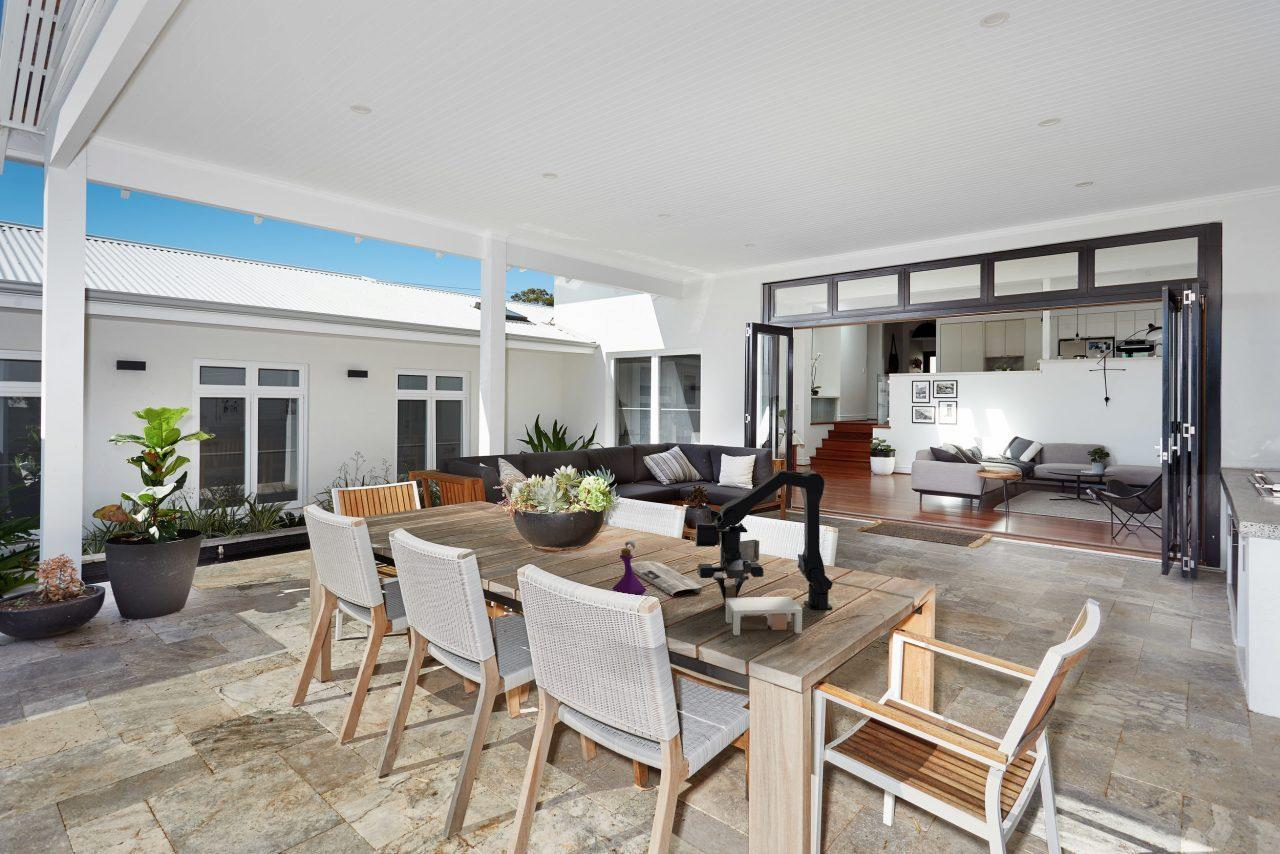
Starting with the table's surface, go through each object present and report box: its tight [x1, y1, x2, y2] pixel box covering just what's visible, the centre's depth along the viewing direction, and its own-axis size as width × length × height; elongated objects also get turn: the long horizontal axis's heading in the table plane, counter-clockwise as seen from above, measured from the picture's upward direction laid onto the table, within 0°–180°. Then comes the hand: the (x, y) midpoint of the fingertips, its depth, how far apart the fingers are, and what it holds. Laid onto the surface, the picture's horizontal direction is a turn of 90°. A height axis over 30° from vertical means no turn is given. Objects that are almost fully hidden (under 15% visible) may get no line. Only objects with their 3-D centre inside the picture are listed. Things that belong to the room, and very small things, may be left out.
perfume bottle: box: [611, 540, 647, 596], centre depth 195 cm, size 8×8×18 cm
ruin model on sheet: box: [740, 539, 760, 562], centre depth 239 cm, size 11×3×10 cm, turn 117°
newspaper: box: [631, 560, 706, 597], centre depth 215 cm, size 35×12×4 cm, turn 26°
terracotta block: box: [767, 613, 788, 631], centre depth 174 cm, size 4×4×4 cm
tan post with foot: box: [722, 583, 769, 631], centre depth 182 cm, size 20×7×6 cm, turn 5°
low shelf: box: [725, 596, 803, 636], centre depth 173 cm, size 10×18×6 cm, turn 95°
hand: (729, 598), depth 190 cm, fingers closed on tan post with foot, 3 cm apart
